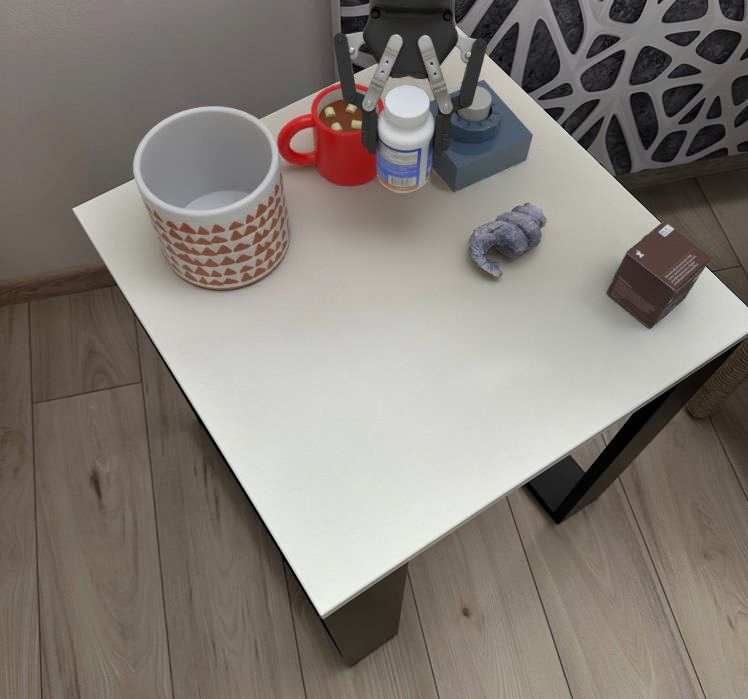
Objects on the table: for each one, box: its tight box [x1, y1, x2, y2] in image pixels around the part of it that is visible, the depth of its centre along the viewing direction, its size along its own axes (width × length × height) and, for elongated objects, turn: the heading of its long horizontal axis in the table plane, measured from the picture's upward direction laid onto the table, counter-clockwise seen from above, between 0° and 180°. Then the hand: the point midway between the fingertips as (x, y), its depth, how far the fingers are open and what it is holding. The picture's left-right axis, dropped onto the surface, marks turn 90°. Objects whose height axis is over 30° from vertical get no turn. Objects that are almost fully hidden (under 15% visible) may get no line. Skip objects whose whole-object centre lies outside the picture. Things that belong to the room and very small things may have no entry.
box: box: [606, 221, 712, 329], centre depth 77 cm, size 6×6×7 cm
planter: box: [132, 105, 291, 291], centre depth 78 cm, size 14×14×13 cm
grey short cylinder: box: [457, 86, 492, 123], centre depth 84 cm, size 4×4×2 cm
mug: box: [276, 83, 385, 187], centre depth 85 cm, size 8×12×8 cm, turn 106°
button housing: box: [429, 79, 534, 193], centre depth 87 cm, size 10×10×6 cm
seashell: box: [468, 202, 548, 279], centre depth 81 cm, size 5×5×10 cm
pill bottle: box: [376, 84, 435, 194], centre depth 72 cm, size 5×5×10 cm
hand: (404, 154), depth 72 cm, fingers closed on pill bottle, 5 cm apart
